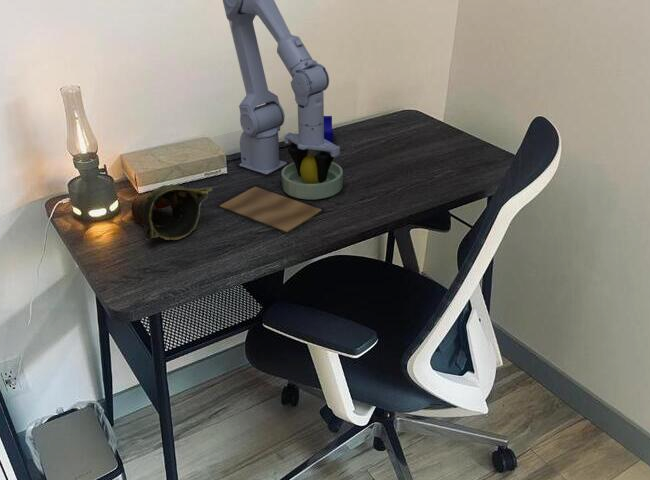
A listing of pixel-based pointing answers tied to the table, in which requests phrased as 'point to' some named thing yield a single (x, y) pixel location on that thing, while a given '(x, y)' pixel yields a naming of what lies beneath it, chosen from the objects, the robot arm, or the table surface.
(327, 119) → the cable clip
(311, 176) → the lemon
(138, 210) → the pot
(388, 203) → the table surface
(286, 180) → the bowl
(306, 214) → the cork mat
